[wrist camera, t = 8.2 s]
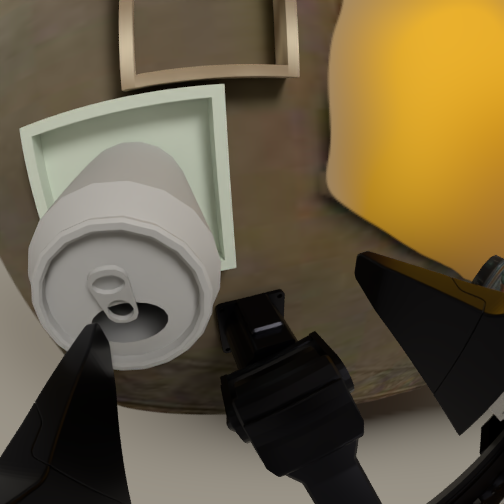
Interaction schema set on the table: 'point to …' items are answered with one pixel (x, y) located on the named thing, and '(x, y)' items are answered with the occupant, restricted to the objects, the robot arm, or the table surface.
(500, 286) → the beer stein
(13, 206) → the table surface
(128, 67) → the holder
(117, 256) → the can
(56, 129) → the tray
